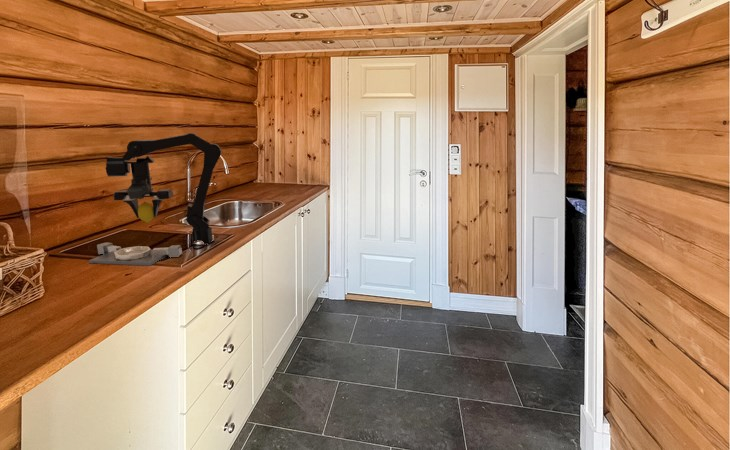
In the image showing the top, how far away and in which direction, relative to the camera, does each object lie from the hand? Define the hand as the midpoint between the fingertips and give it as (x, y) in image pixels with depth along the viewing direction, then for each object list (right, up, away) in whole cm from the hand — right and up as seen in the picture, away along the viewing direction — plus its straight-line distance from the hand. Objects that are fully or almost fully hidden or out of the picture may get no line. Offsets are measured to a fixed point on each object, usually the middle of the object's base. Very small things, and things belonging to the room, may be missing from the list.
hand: (146, 217), depth 150 cm
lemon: (0, -2, +1) cm, 2 cm away
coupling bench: (0, -14, -9) cm, 17 cm away
